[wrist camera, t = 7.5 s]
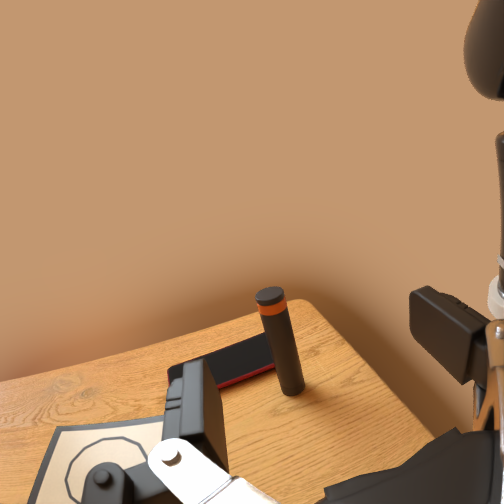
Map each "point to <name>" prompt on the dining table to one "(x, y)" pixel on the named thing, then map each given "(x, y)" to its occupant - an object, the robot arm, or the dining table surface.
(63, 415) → the dining table surface
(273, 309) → the marker
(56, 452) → the board
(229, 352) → the smartphone
